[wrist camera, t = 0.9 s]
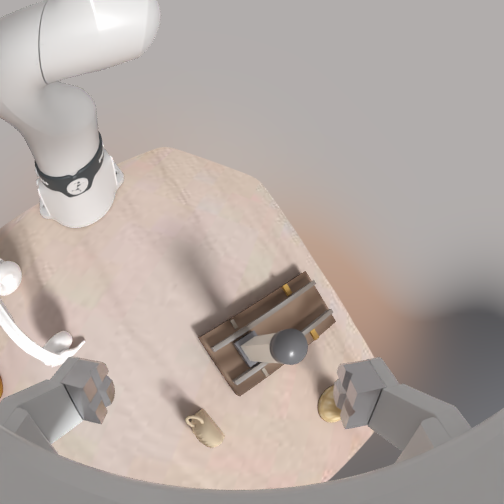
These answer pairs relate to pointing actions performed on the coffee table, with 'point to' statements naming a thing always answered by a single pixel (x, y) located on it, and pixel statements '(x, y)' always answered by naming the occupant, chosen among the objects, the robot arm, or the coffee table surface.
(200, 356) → the coffee table surface
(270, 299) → the fader track
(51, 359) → the headset
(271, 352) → the fader tab
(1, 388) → the ornamental finial
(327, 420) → the hand bell
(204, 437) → the decorative ornament
